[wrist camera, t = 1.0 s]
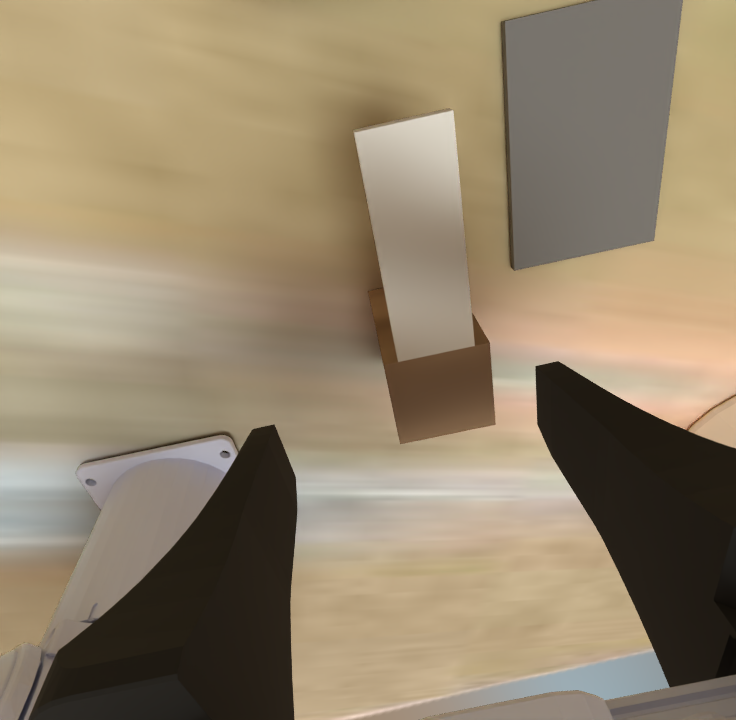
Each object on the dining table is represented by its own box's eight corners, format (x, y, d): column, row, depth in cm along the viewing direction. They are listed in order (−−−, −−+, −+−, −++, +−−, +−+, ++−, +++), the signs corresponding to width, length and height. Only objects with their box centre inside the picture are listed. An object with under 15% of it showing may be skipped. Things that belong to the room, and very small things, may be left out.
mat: (648, 237, 22) (654, 240, 21) (511, 267, 22) (514, 270, 22) (677, -19, 17) (685, -20, 17) (501, 21, 17) (504, 21, 17)
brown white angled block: (457, 343, 24) (495, 424, 19) (382, 359, 24) (400, 444, 19) (428, 88, 18) (472, 106, 13) (329, 111, 18) (335, 136, 13)
